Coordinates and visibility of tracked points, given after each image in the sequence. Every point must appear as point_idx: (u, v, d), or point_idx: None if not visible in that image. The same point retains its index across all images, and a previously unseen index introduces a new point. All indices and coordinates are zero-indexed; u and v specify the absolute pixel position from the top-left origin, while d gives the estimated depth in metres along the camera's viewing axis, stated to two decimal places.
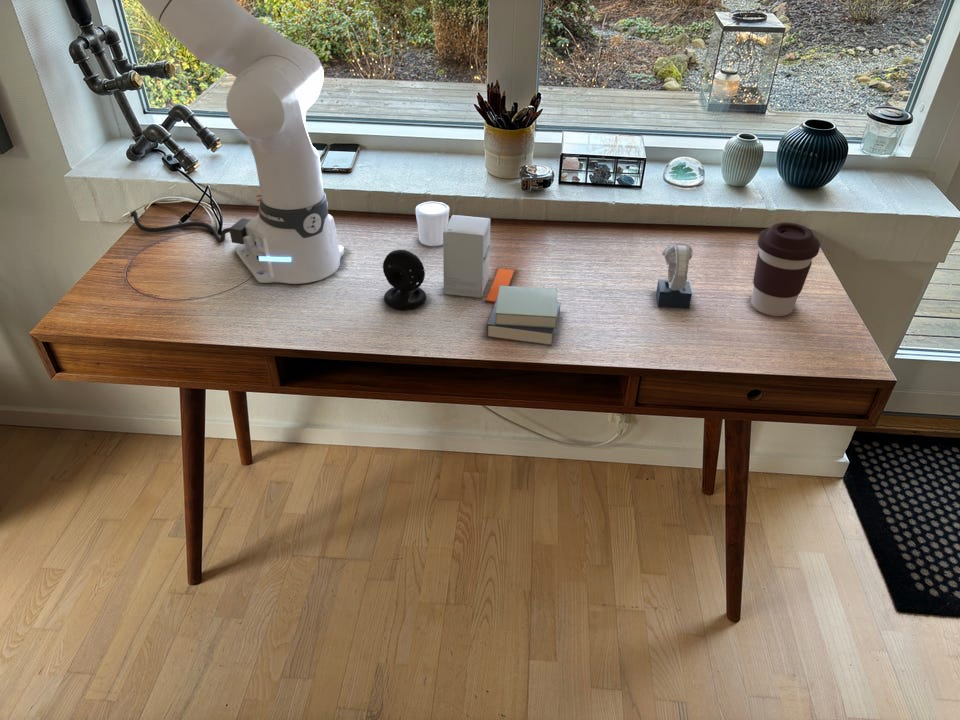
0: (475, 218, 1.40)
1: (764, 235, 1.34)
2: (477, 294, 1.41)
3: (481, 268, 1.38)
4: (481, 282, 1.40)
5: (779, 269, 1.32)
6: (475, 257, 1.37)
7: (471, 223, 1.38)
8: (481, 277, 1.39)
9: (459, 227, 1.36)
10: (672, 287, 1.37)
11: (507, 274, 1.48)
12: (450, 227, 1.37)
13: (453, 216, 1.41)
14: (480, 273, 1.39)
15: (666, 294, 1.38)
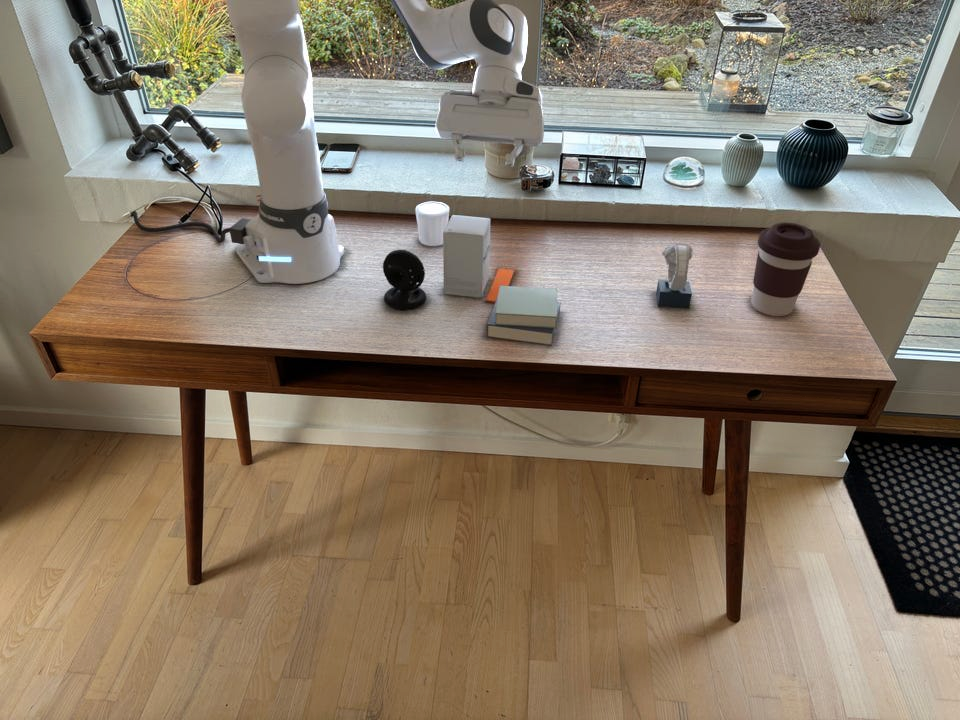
0: (475, 218, 1.40)
1: (764, 235, 1.34)
2: (477, 294, 1.41)
3: (481, 268, 1.38)
4: (481, 282, 1.40)
5: (779, 269, 1.32)
6: (475, 257, 1.37)
7: (471, 223, 1.38)
8: (481, 277, 1.39)
9: (459, 227, 1.36)
10: (672, 287, 1.37)
11: (507, 274, 1.48)
12: (450, 227, 1.37)
13: (453, 216, 1.41)
14: (480, 273, 1.39)
15: (666, 294, 1.38)
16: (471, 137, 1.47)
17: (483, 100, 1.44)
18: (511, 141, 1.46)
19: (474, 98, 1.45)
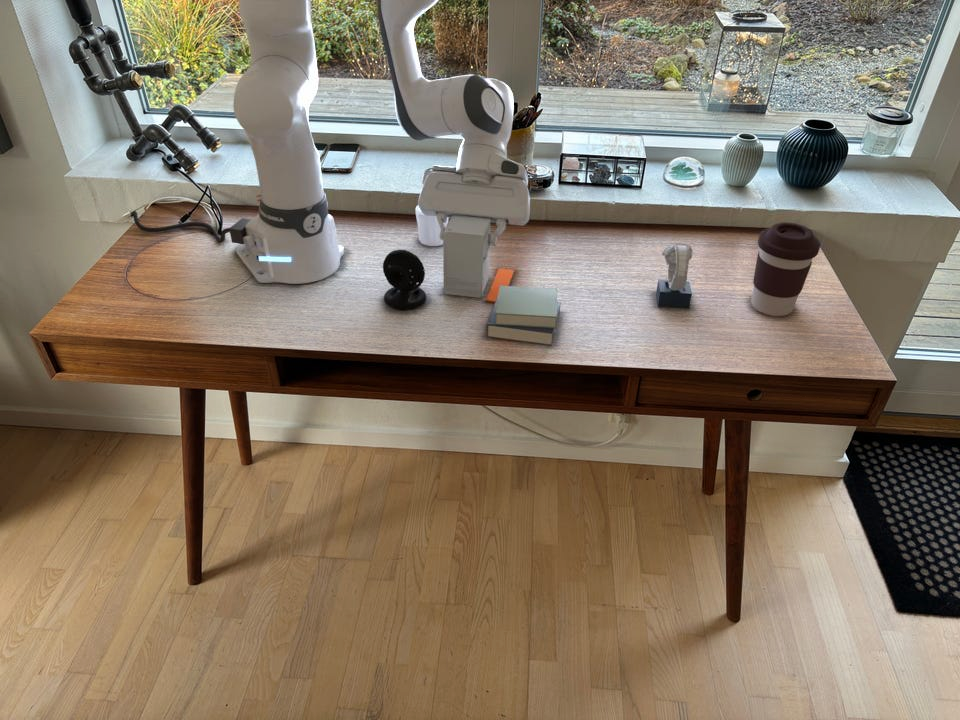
0: (475, 218, 1.40)
1: (765, 235, 1.34)
2: (477, 294, 1.41)
3: (481, 268, 1.38)
4: (481, 282, 1.40)
5: (779, 269, 1.32)
6: (475, 257, 1.37)
7: (471, 223, 1.38)
8: (481, 277, 1.39)
9: (459, 228, 1.36)
10: (672, 287, 1.37)
11: (507, 274, 1.48)
12: (450, 227, 1.37)
13: (453, 216, 1.41)
14: (480, 273, 1.39)
15: (666, 294, 1.38)
16: None
17: (467, 178, 1.40)
18: (496, 220, 1.42)
19: (458, 176, 1.41)
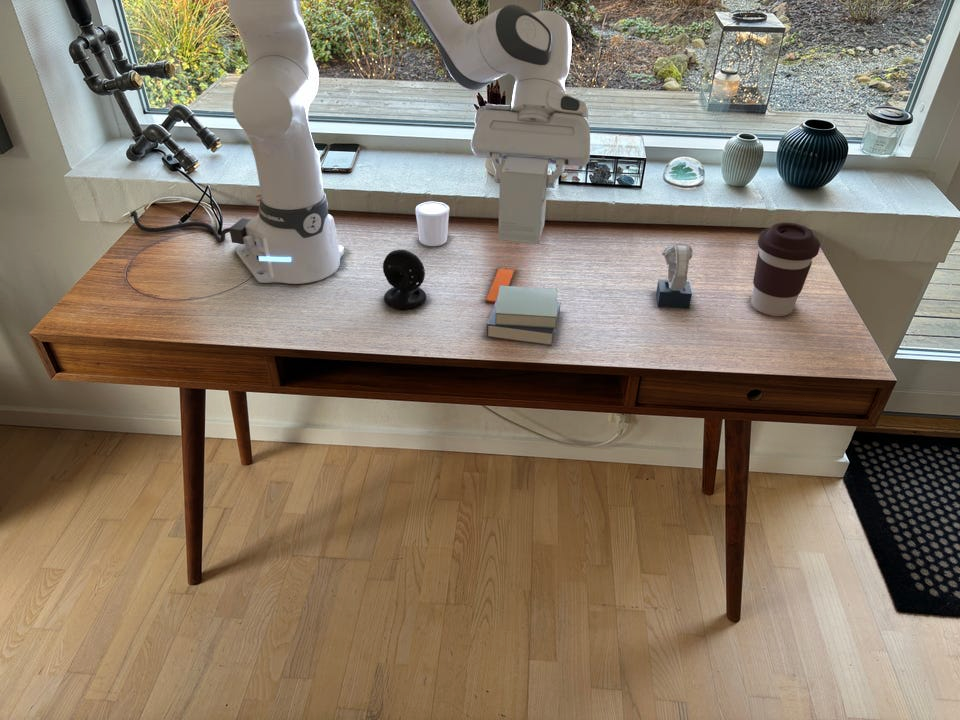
0: (532, 159, 1.31)
1: (764, 235, 1.34)
2: (534, 240, 1.33)
3: (540, 211, 1.30)
4: (539, 226, 1.31)
5: (779, 269, 1.32)
6: (534, 199, 1.28)
7: (529, 163, 1.29)
8: (539, 221, 1.31)
9: (517, 167, 1.28)
10: (672, 287, 1.37)
11: (507, 274, 1.48)
12: (507, 167, 1.28)
13: (509, 157, 1.32)
14: (538, 216, 1.30)
15: (666, 294, 1.38)
16: None
17: (524, 116, 1.31)
18: (554, 161, 1.33)
19: (514, 114, 1.32)
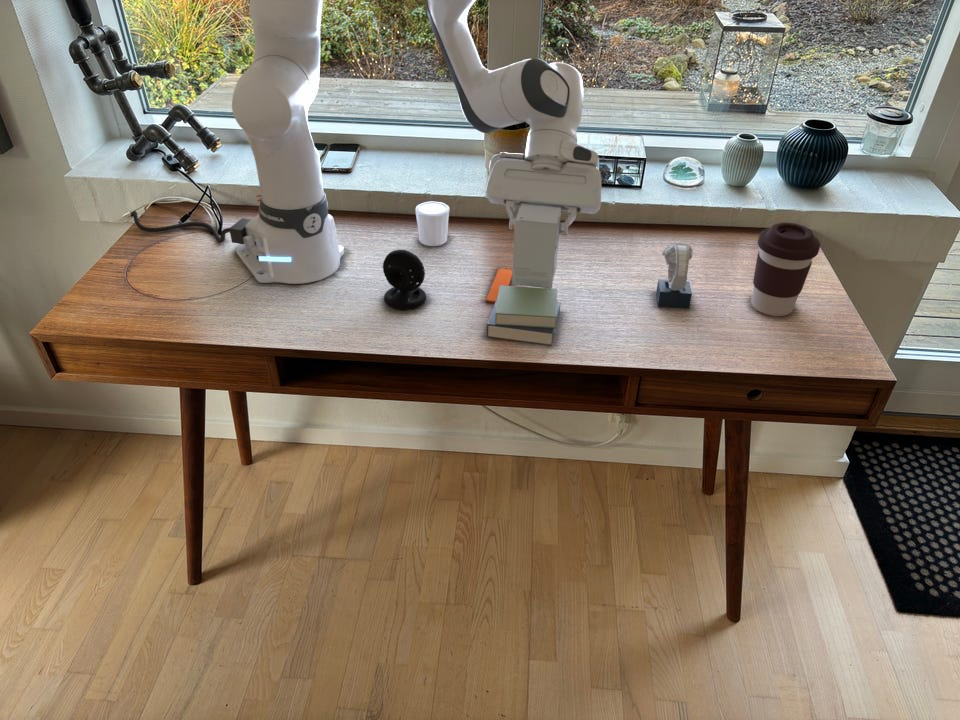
0: (545, 206, 1.35)
1: (764, 235, 1.34)
2: (547, 285, 1.37)
3: (553, 258, 1.34)
4: (552, 272, 1.36)
5: (779, 269, 1.32)
6: (547, 246, 1.33)
7: (542, 211, 1.34)
8: (552, 267, 1.35)
9: (531, 216, 1.32)
10: (672, 287, 1.37)
11: (507, 274, 1.48)
12: (522, 215, 1.32)
13: (522, 204, 1.36)
14: (551, 263, 1.35)
15: (666, 294, 1.38)
16: None
17: (537, 165, 1.35)
18: (566, 208, 1.37)
19: (527, 162, 1.37)
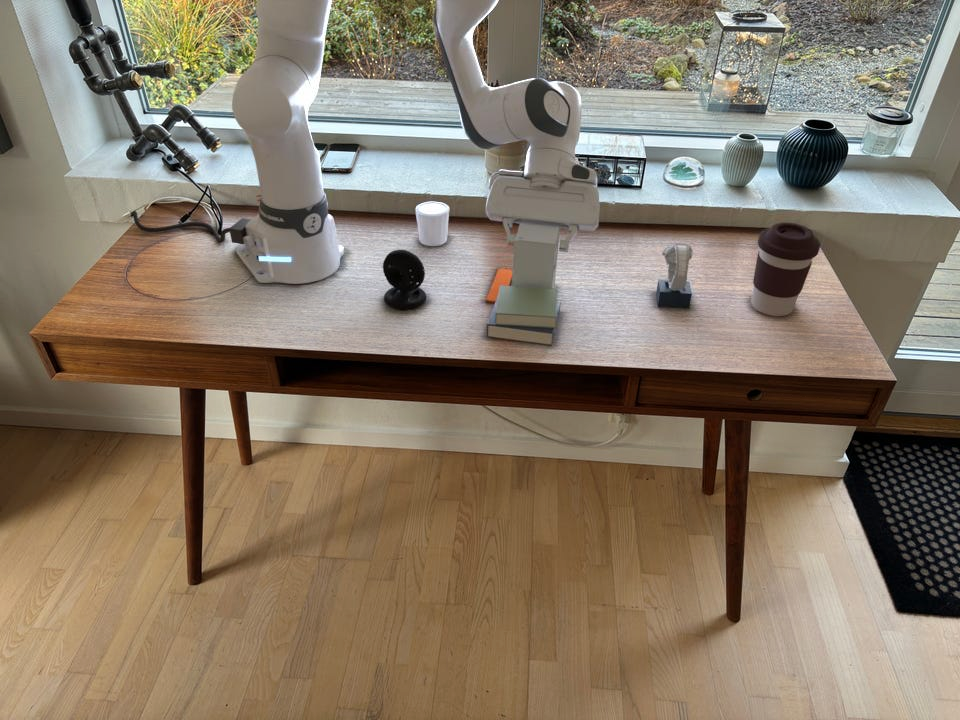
0: (544, 226, 1.37)
1: (764, 235, 1.34)
2: None
3: (551, 277, 1.36)
4: None
5: (779, 269, 1.32)
6: (546, 266, 1.35)
7: (541, 231, 1.36)
8: (551, 286, 1.37)
9: (530, 236, 1.34)
10: (672, 287, 1.37)
11: (507, 274, 1.48)
12: (521, 235, 1.34)
13: (521, 224, 1.38)
14: (550, 282, 1.37)
15: (666, 294, 1.38)
16: (522, 220, 1.40)
17: (536, 183, 1.37)
18: (565, 225, 1.39)
19: (526, 180, 1.39)
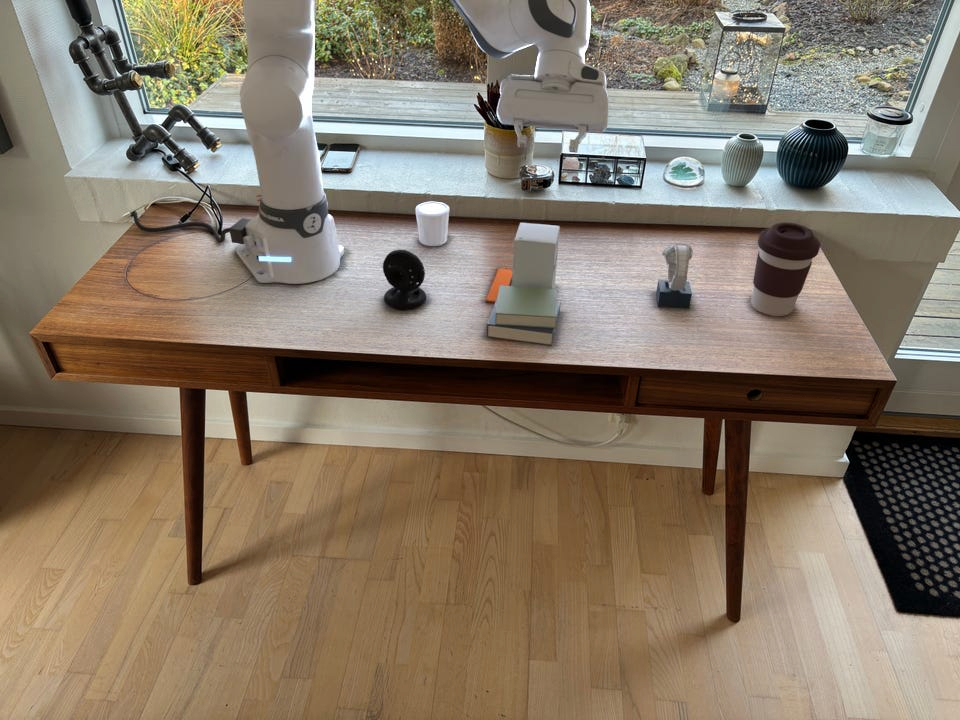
0: (544, 226, 1.37)
1: (765, 235, 1.34)
2: None
3: (551, 277, 1.36)
4: None
5: (779, 269, 1.32)
6: (546, 266, 1.35)
7: (541, 231, 1.36)
8: (551, 286, 1.37)
9: (530, 236, 1.34)
10: (672, 287, 1.37)
11: (507, 274, 1.48)
12: (521, 235, 1.34)
13: (521, 224, 1.38)
14: (550, 282, 1.37)
15: (666, 294, 1.38)
16: (533, 123, 1.44)
17: (546, 85, 1.41)
18: (574, 127, 1.43)
19: (537, 83, 1.42)
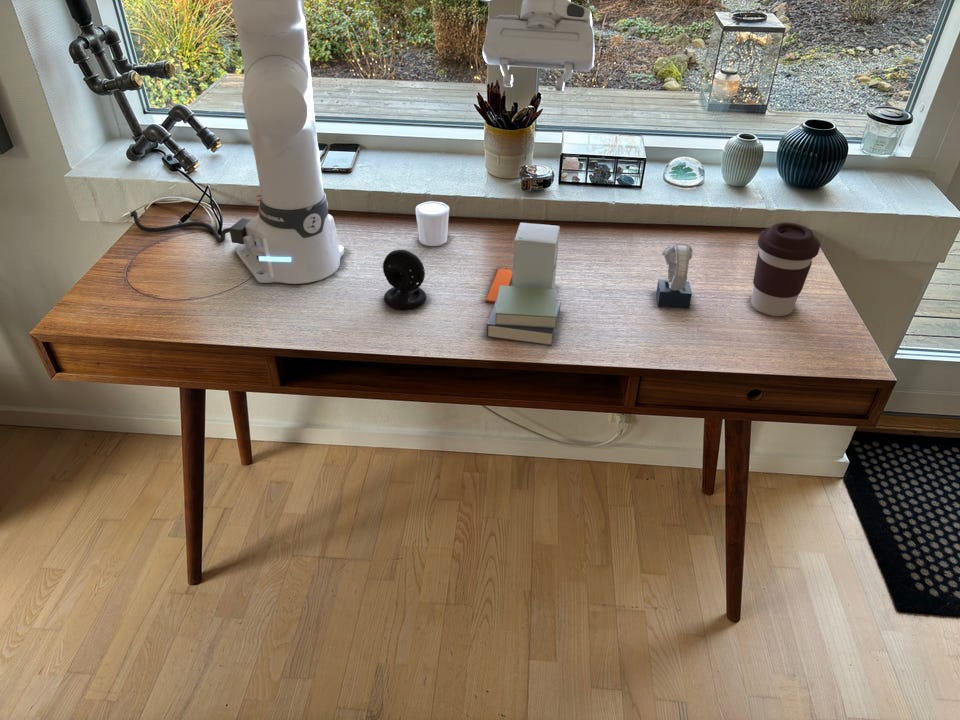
0: (544, 226, 1.37)
1: (765, 235, 1.34)
2: None
3: (551, 277, 1.36)
4: None
5: (779, 269, 1.32)
6: (546, 266, 1.35)
7: (541, 231, 1.36)
8: (551, 286, 1.37)
9: (530, 236, 1.34)
10: (672, 287, 1.37)
11: (507, 274, 1.48)
12: (521, 235, 1.34)
13: (521, 224, 1.38)
14: (550, 282, 1.37)
15: (666, 294, 1.38)
16: (519, 63, 1.43)
17: (532, 23, 1.40)
18: (560, 66, 1.42)
19: (522, 22, 1.41)
